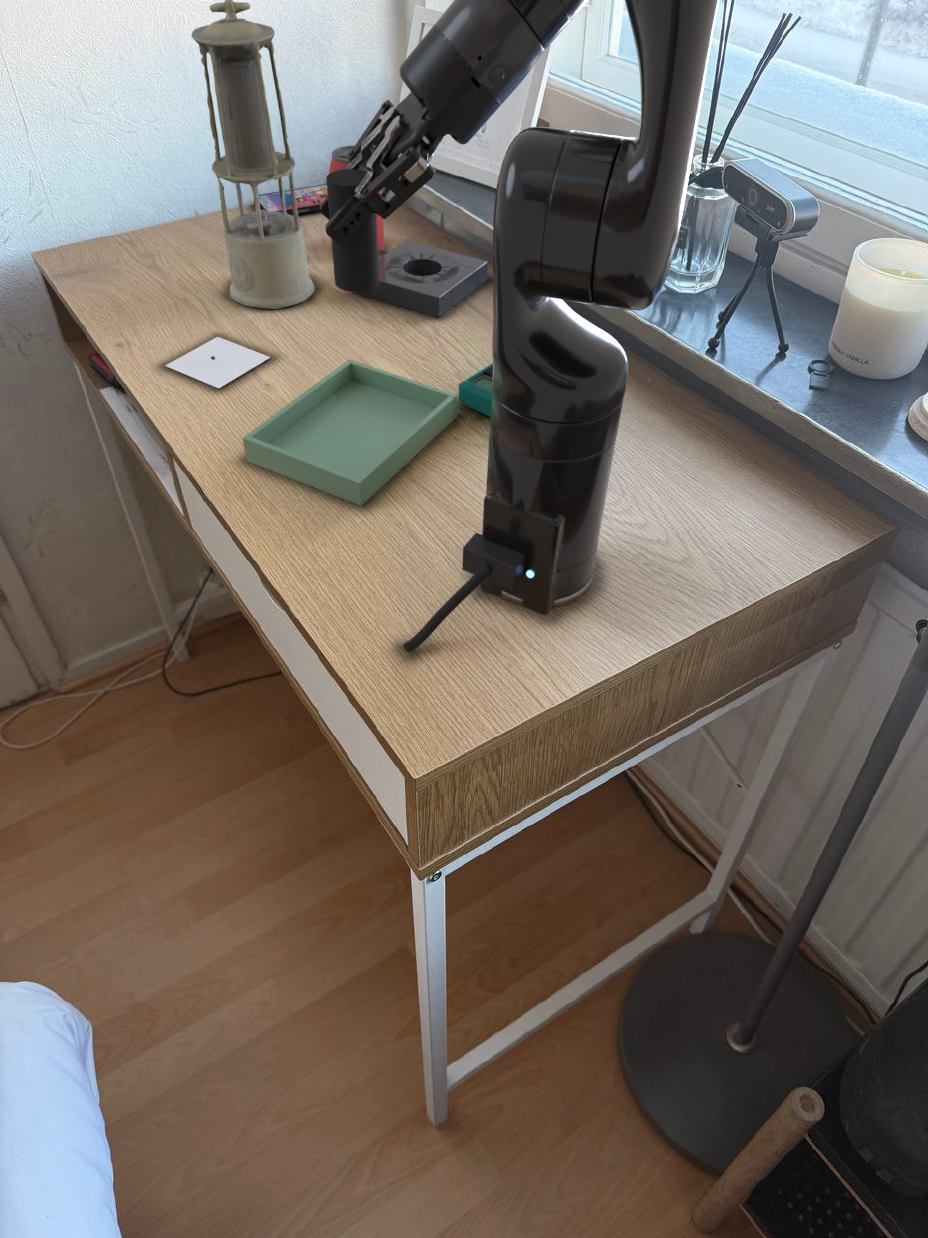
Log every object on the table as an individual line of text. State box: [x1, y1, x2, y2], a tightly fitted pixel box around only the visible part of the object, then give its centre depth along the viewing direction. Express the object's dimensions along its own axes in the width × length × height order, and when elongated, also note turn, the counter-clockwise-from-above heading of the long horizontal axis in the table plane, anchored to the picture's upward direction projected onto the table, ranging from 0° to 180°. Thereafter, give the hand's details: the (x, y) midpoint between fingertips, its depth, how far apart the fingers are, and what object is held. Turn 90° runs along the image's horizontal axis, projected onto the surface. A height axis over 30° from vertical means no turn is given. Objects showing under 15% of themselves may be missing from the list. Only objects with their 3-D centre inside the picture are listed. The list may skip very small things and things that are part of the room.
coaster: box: [164, 336, 271, 389], centre depth 95 cm, size 8×8×1 cm
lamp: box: [191, 0, 316, 310], centre depth 98 cm, size 10×13×30 cm
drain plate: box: [355, 239, 489, 319], centre depth 108 cm, size 12×12×2 cm
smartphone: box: [253, 183, 328, 216], centre depth 127 cm, size 7×1×15 cm
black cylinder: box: [325, 169, 379, 293], centre depth 75 cm, size 4×4×9 cm
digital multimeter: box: [457, 362, 493, 418], centre depth 92 cm, size 7×15×3 cm, turn 142°
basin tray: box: [242, 359, 458, 507], centre depth 85 cm, size 17×13×3 cm
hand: (331, 227), depth 75 cm, fingers closed on black cylinder, 4 cm apart
